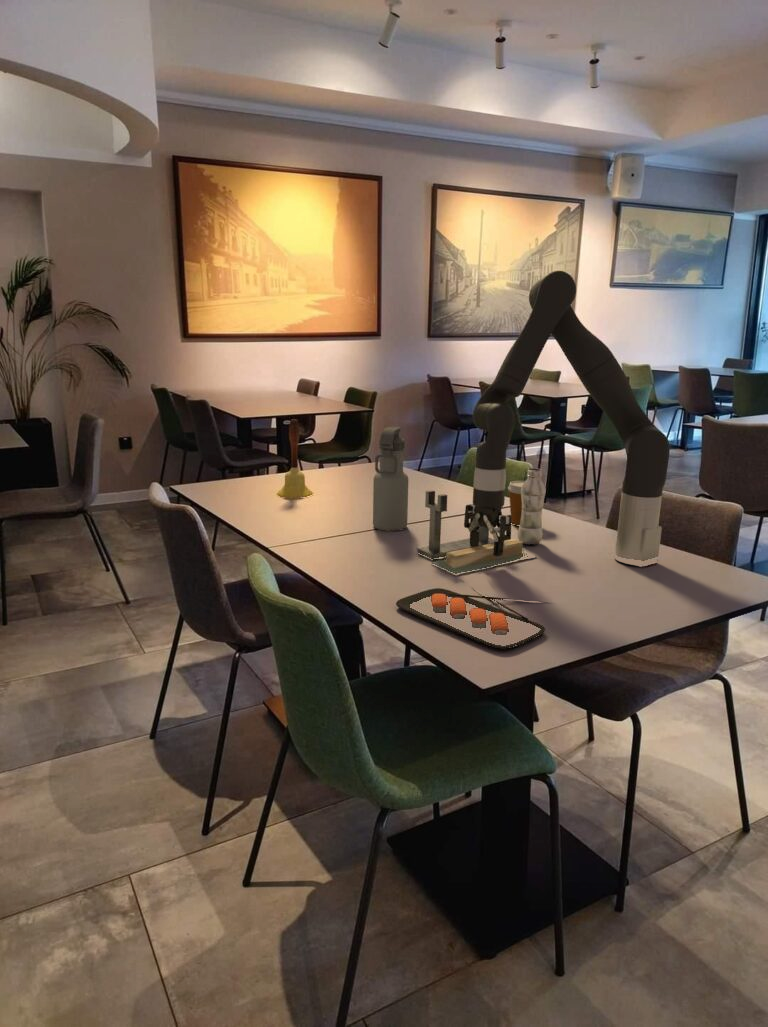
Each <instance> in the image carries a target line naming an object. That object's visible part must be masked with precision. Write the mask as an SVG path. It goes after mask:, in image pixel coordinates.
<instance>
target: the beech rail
mask: <svg viewBox="0 0 768 1027" xmlns="http://www.w3.org/2000/svg"><path fill="white" fill-rule="evenodd" d="M523 544H524V543H523V542H522V541H519V539H516V538H512V539H510V540H505V541H504V546H503V554H502V555H501V556H497V557H496V556H494V555H493V552H494V543H492V544H487V545H482V546H477V547H472V548H467V549H462V550H457V551H452V552H447V554H446V558H445V560H446V565H448V566H450V567H452V568H458V567H462V566H467V565H471V564H476V563H480V562H485V561H490V560H494V559H499V558H503V557H508V556H512V555H517V554H521V553H522V550H523Z"/></svg>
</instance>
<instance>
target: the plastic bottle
mask: <svg viewBox="0 0 768 1027" xmlns="http://www.w3.org/2000/svg"><path fill="white" fill-rule="evenodd" d="M542 470H543V469H541V468H536V467H532V468H531V467H530V468H527V474H526V477H527V478H526V480H524V481H525V482H524V484H523V485H522V488H521V498H522V514H521V521H520V526H519V527H518V531H517V540H519V541H522V542H523V544H525V545H530V544H534V545H538V543H539V544H541V541H542V539H543V527H542V523H543V522H542V519H543V518H542V515H543V506H544V503H545V502H544V501H545V498H546V491H547V490H546V486H545V484H544V482H543V481H542V476H543V474H542V473H543V471H542Z"/></svg>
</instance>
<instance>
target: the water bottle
mask: <svg viewBox="0 0 768 1027" xmlns="http://www.w3.org/2000/svg"><path fill="white" fill-rule="evenodd" d="M400 433H401V427H399V426H388V427H385V428H383V430H382V431H381V434H380V438H379V439H378V442H379V448H378V451H379V454H377V455H376V456H375V459H374V460H375V462H374V469H375V472H376V473H375V474H374V475H373V482H372V484H373V485H372V486H373V491H372V496H373V498H372V499H373V500H372V525H373V527H374V528H375V529H376V530H377V529H378V530H379V529H381V530H380V531H384V530H398V531H402V530H404V529H406V528H407V527H408V515H409V514H408V512H409V511H408V509H409V476H408V474H407V473H405V472H404V451H405V439H404V438H402V437H400ZM401 529H402V530H401Z"/></svg>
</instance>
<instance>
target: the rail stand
mask: <svg viewBox="0 0 768 1027" xmlns="http://www.w3.org/2000/svg"><path fill="white" fill-rule="evenodd" d="M424 505H425V506H424V507H425V508H428V509H429V527H428V528H429V531H428V534H429V535H428V546H424V547H418V548H417V552H418V553H420V554H422V555H425V556H427V557H429V558H431V559H434V558H439V557H445V556H446V554H447V552H452V551H457V550H462V549H467V548H472V547H471V546H470V537H469V538H464V539H460V540H455V541H449V542H444V543H441V534H442V513H444V512H447V511H448V495H447V494H445V493H442V494H437V502H436V491H435V490H434V489H432V490H431V489H430V490H425V504H424ZM478 532H479V545H478V546H482V545H487V544H492V543H494V541H495V540H494V538H491V537H490V531H489V529H487V528H485V527H481V528H480V529H479V530H478ZM417 552H416V553H417Z"/></svg>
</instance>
